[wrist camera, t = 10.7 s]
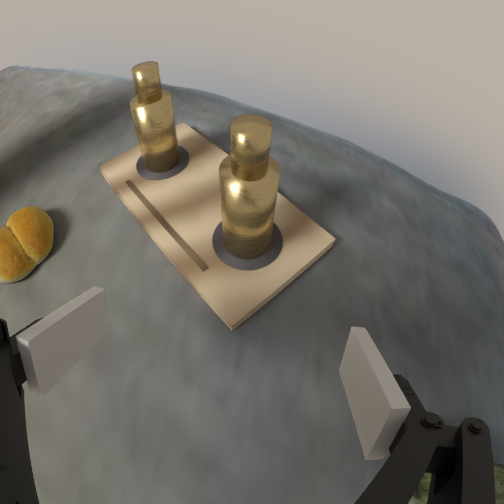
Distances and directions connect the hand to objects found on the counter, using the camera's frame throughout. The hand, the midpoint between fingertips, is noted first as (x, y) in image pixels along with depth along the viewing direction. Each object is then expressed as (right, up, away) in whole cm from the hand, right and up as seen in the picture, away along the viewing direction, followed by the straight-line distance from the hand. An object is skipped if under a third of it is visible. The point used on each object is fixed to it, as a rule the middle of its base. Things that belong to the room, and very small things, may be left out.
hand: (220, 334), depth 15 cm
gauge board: (-4, +9, +15) cm, 18 cm away
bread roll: (-23, +4, +12) cm, 26 cm away
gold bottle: (-8, +14, +17) cm, 23 cm away
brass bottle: (+1, +5, +11) cm, 12 cm away
